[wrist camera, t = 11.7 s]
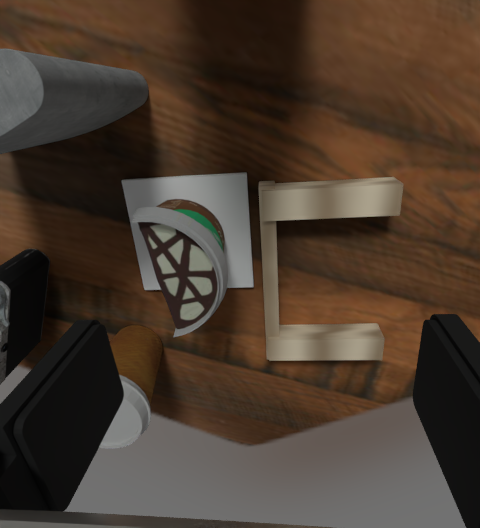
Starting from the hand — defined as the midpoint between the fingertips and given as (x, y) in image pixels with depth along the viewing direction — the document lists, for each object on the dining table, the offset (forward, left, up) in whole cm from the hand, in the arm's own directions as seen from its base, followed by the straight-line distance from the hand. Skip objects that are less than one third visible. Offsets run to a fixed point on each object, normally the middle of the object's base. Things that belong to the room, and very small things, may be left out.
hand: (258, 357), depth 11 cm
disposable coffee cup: (+17, +21, -29) cm, 40 cm away
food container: (+7, +6, -28) cm, 29 cm away
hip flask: (+18, -7, -29) cm, 35 cm away
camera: (+31, +14, -29) cm, 45 cm away
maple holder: (-6, +11, -28) cm, 31 cm away
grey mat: (+8, +6, -28) cm, 30 cm away
